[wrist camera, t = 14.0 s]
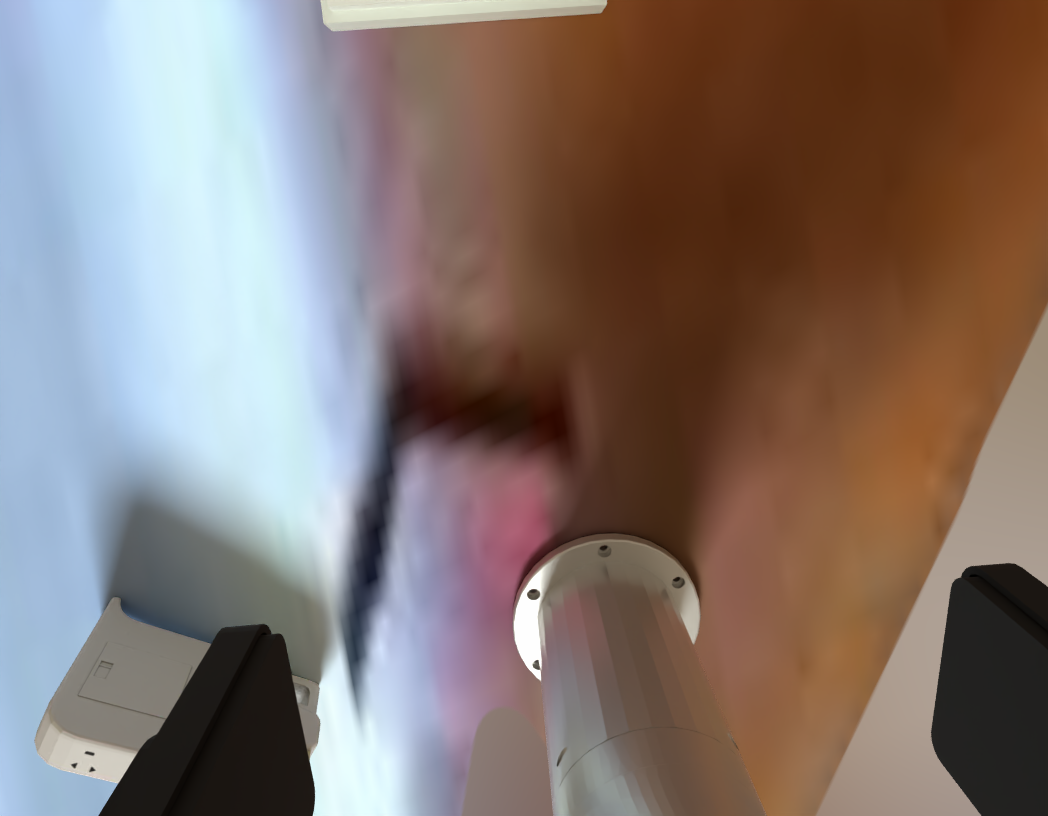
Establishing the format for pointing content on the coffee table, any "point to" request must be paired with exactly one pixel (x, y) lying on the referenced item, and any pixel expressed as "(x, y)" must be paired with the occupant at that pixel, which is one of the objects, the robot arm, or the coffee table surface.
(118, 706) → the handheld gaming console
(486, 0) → the stand
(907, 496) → the coffee table surface
